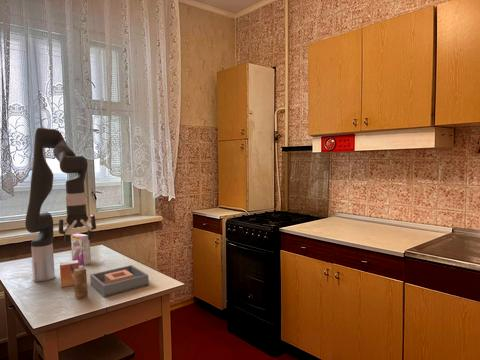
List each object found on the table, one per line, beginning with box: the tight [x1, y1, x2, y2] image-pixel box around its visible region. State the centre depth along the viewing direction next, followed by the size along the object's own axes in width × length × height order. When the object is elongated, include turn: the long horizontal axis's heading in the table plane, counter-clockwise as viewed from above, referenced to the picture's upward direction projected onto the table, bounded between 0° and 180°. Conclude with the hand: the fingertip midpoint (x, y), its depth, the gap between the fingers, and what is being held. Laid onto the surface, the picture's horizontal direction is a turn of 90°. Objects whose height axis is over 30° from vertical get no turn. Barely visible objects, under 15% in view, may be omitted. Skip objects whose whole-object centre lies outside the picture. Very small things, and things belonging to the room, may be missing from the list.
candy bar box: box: [70, 233, 92, 266], centre depth 195 cm, size 11×5×16 cm, turn 58°
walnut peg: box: [74, 266, 89, 300], centre depth 147 cm, size 4×4×12 cm
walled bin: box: [89, 264, 150, 298], centre depth 159 cm, size 20×20×5 cm
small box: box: [59, 260, 80, 288], centre depth 163 cm, size 8×6×10 cm
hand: (78, 241), depth 146 cm, fingers open, 8 cm apart
